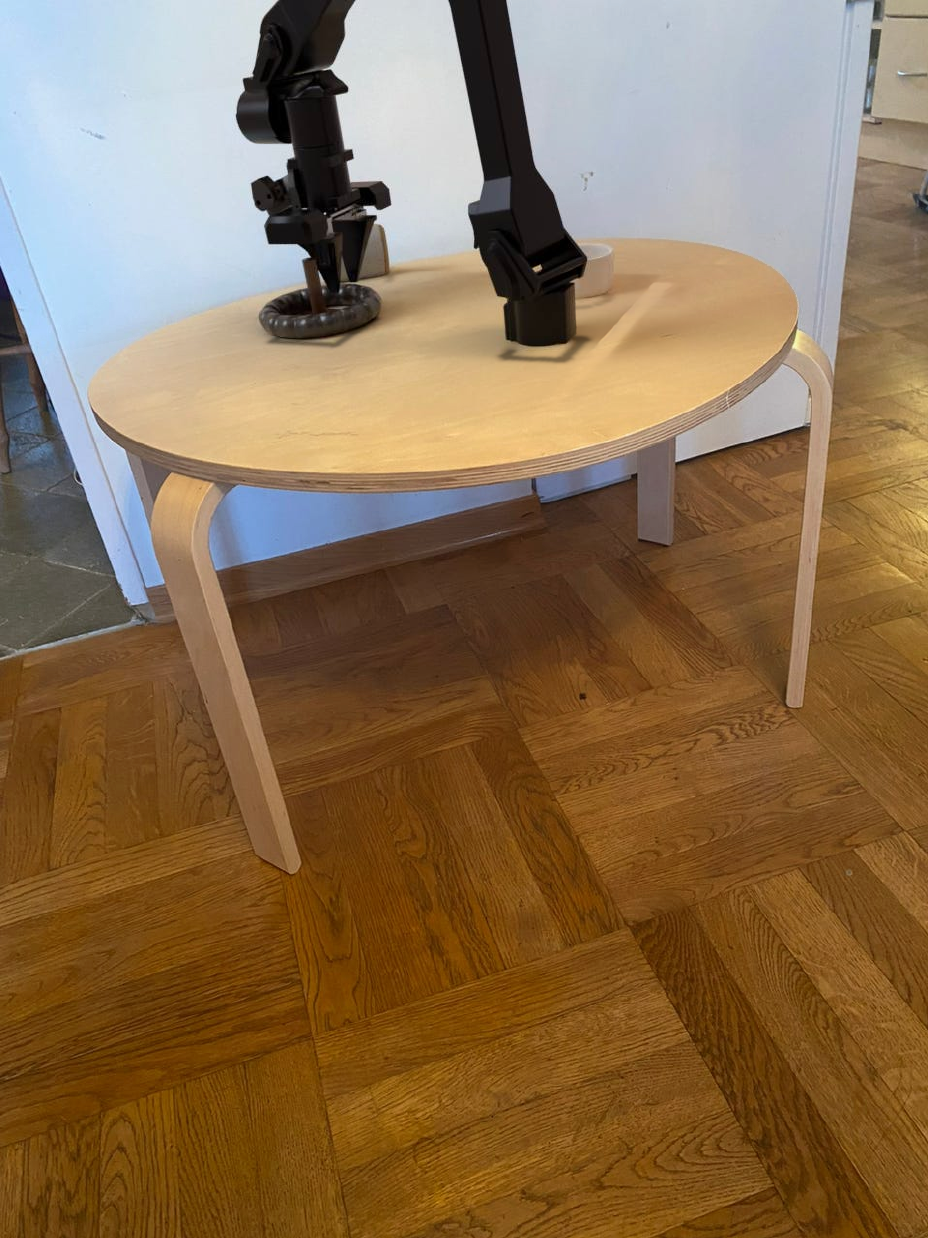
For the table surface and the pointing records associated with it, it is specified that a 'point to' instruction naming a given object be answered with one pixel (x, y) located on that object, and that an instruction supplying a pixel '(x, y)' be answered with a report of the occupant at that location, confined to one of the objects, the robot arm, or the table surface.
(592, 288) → the teacup
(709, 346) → the table surface
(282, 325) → the ring
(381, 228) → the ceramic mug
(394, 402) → the table surface
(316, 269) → the peg stand
